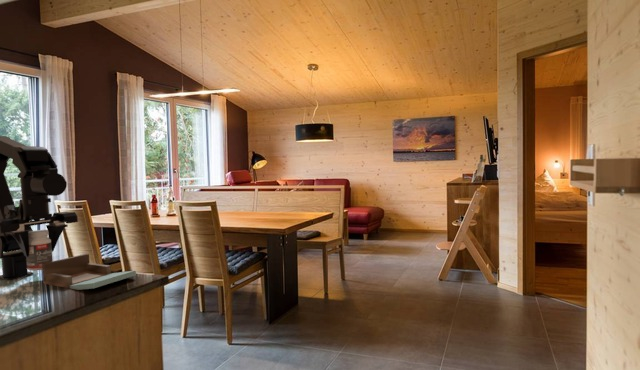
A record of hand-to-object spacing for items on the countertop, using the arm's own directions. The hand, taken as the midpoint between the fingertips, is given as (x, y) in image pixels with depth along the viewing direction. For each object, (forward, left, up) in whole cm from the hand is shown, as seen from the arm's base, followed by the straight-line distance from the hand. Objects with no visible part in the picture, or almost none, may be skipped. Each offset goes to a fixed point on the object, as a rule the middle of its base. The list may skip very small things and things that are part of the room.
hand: (39, 253), depth 113 cm
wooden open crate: (+10, +4, -8) cm, 13 cm away
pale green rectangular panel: (+15, +4, -7) cm, 17 cm away
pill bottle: (0, 0, -4) cm, 4 cm away
